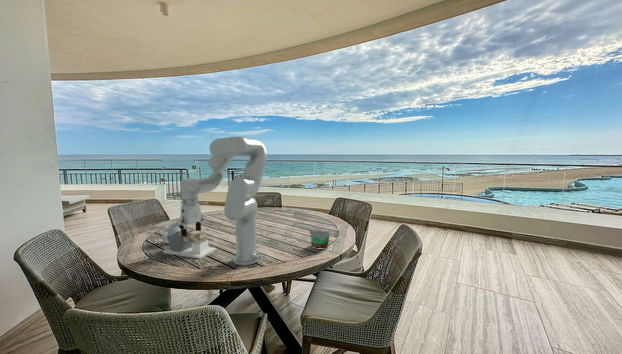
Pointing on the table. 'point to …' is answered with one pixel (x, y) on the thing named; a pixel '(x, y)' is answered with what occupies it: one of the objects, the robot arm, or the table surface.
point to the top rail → (193, 236)
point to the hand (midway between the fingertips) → (191, 233)
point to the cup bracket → (187, 247)
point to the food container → (319, 238)
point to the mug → (169, 231)
